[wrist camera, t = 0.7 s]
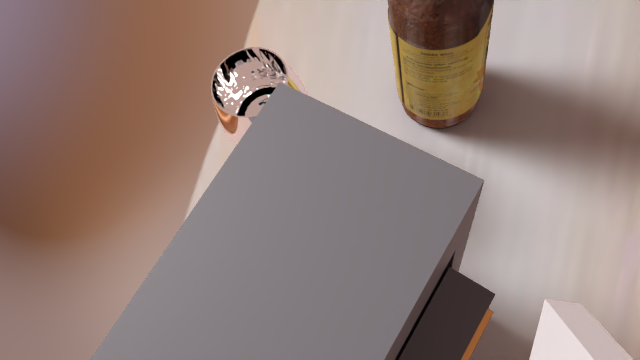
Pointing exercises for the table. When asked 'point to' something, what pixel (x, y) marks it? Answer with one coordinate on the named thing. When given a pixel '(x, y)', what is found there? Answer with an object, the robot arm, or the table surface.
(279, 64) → the wineglass
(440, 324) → the panel
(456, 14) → the sauce bottle
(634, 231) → the table surface
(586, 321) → the robot arm
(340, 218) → the block
